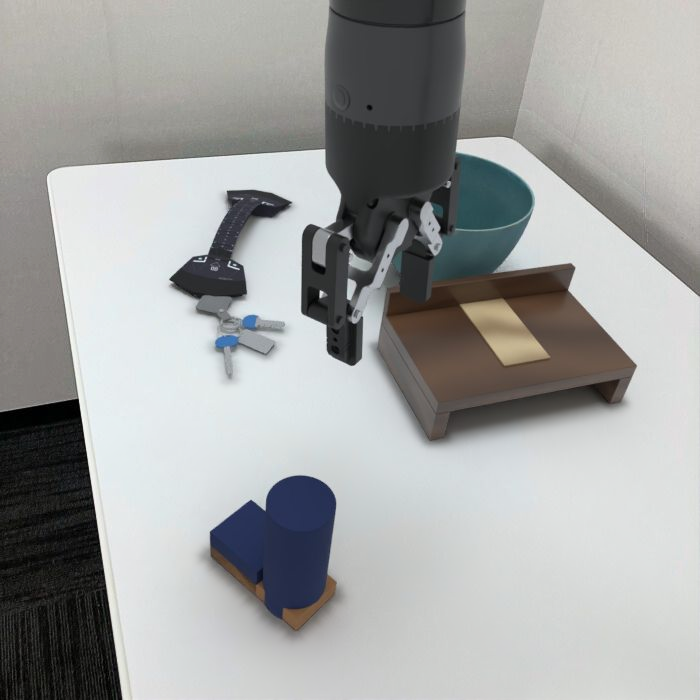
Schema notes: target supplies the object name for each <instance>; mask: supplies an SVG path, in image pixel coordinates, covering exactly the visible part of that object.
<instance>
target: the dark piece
mask: <svg viewBox="0 0 700 700" xmlns="http://www.w3.org/2000/svg"><path fill="white" fill-rule="evenodd" d="M226 195H227V198H228V200H229V201H230V208H229V209H228V211H227V212H226V213H225V215H224V217H223V218H222V221H221V222H220V224H219V226H218V229H217V230H216V234H215V235H214V238H213V239H212V242H211V246H210V247H209V250H208V252H207V254H202V255H201V254H200V255H195V256H192V257H191V258H190V259H188V260H187V261H186V262H185V263H184V264H183V265H182V266H180V268H178V269H177V270H176V272H174V273H173V274H172V275H171V276H170V278H169V279H168V280H169V281H170V282H172V283H173V284H174V285H175V286H177V287H178V288H180V289H181V290H183V291H185V292H186V293H188V294H190V295H191V296H192V297H197V298H202V296H204V295H210V296H228V297H232V299H233V298H242V297H243V296H244V295H248V289H247V279H246V273H245V268H244V265H242V264H241V263H239V262H238V261H236V260H234V259H232V255H233V253H234V249H235V246H236V244H237V241H238V239H239V236H240V235H241V232H242V231H243V229H244V227H245V225H246V223H247V221H248V219H249V218H250V216H251V215H254V216H259V217H267V218H272V217H274V216H276V215H277V214H278V213H280V212H281V211H282V210H284V209H286V207H288V206H289V205H291V204H293V201H290V200H288V199H286V198H284V197H282V196H279V195H278V194H275V193H273V192H270V191H263V190H257V189H237V190H236V189H234V190H233V189H232V190H230V189H229V190H226Z"/></svg>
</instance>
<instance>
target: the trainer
mask: <svg viewBox="0 0 700 700" xmlns="http://www.w3.org/2000/svg"><path fill="white" fill-rule="evenodd" d="M336 513H337V498H336V495H335V493H334V491H333V490H332V488H331V487H330V486H329V485H328V484H326V482H324V481H323V480H321V479H320V478H319V479H318V478H317V477H313V476H309V475H305V474H304V475H301V474H298V475H291V476H287V477H284V478H282V479H280V480H279V481H277V482H276V483H274V484H273V486H272V487H270V489H269V490H268V493H267V495H266V498H265V509H264V508H262V507H261V506H260V505H259V504H257V503H256V502H255V501H254V500H252V499H250V500H248V501H247V502H246V503H245V504H243V505H241V507H239V508H238V509H236V510H235V511H234V512H233V513H231V514H230V515H228V517H227V518H225V519H224V520H223V521H221V522H220V523H219V524H218V525H216V526H215V527H213V528H212V529H211V530H210V531H209V546H210V547H209V548H210V549H209V550H210V551H209V554H210V557H211V558H212V559H213V560H214V561H216V562H217V563H218V564H219V565H220V566H221V567H223V568H224V570H226V571H227V572H229V573H230V575H232V576H233V577H234V578H235V579H236V580H237V581H238V582H239V583H241V584H242V585H243V586H245V588H246V589H248V590H249V592H251V593H252V594H253V595H254V596H256V597H257V598H258V599H259V600H260V601H262V603H264V605H265V607H266V608H267V610H268V611H269V612H270V613H271V614H272V615H273V616H275V617H277V618H278V619H281V620H283V621H284V622H285V623H287V624H288V625H289V626H290V627H291V628H293V629H294V630H295V631H298V630H299V629H301V627H302V626H303V625H304V624H305V623H306V622H307V621H309V619H310V618H311V617H312V616H313V615H314V614H315V613H317V612H318V610H320V609H321V608H322V606H324V605H325V604H326V603H327V602H328V601H329V600H330V599H331V598H332V597H333V596H334V595H335V594H336V589H337V581H336V580H335V579H334V578H332V576H330V574H328V572H329V565H330V557H331V549H332V542H333V535H334V527H335V521H336V519H335V518H336Z"/></svg>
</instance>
